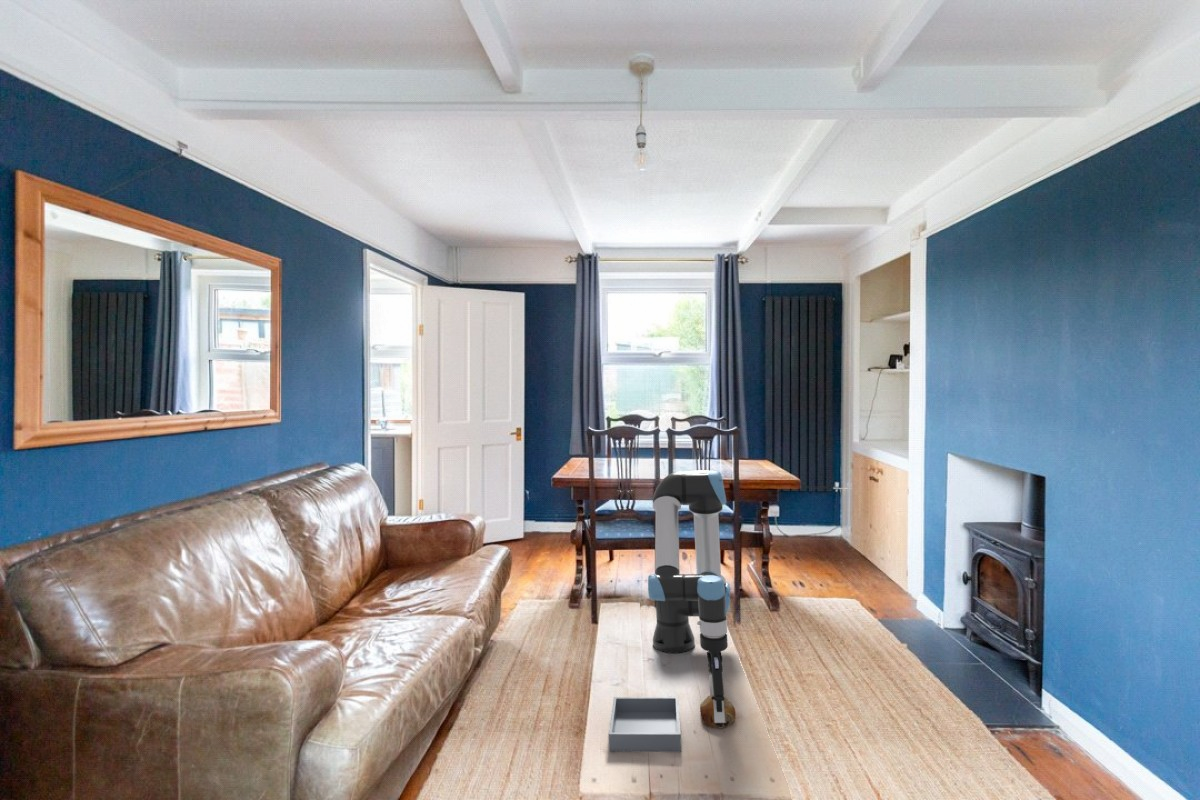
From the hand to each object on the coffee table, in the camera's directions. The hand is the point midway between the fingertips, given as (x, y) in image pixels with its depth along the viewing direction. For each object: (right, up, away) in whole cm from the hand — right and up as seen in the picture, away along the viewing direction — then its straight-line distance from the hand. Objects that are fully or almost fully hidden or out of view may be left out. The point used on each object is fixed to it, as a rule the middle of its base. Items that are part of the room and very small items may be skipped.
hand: (717, 708), depth 167 cm
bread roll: (0, -3, 0) cm, 3 cm away
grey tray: (-20, -4, -4) cm, 21 cm away
